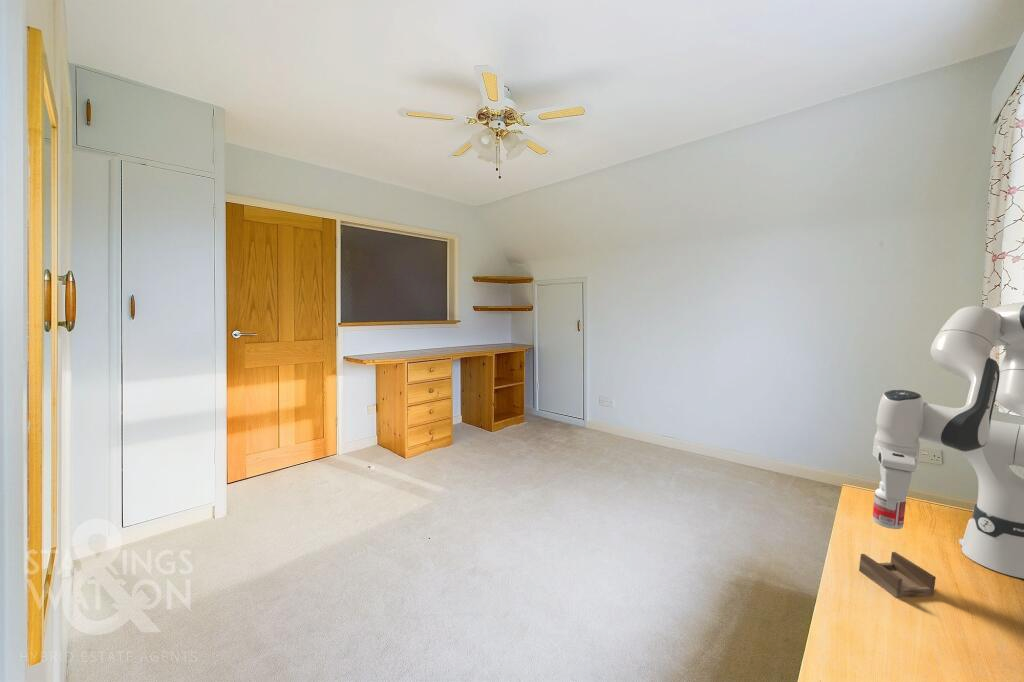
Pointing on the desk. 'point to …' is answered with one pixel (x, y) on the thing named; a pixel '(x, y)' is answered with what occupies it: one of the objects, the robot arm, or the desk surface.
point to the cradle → (898, 576)
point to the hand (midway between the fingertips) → (889, 502)
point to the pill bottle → (887, 511)
